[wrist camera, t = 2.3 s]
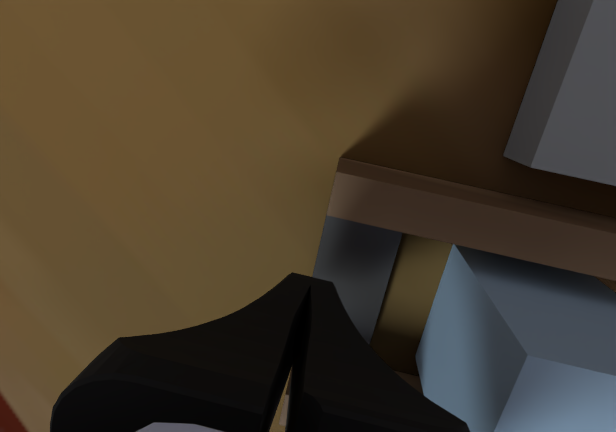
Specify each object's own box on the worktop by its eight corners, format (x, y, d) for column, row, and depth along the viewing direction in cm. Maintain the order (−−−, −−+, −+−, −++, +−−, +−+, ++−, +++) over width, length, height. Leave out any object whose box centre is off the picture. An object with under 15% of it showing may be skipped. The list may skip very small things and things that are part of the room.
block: (539, 385, 14) (660, 577, 9) (414, 355, 15) (453, 523, 9) (591, 274, 13) (773, 413, 7) (453, 242, 13) (527, 355, 8)
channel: (554, 438, 15) (592, 503, 13) (290, 373, 15) (278, 424, 13) (660, 227, 12) (732, 259, 10) (339, 157, 13) (336, 171, 10)
